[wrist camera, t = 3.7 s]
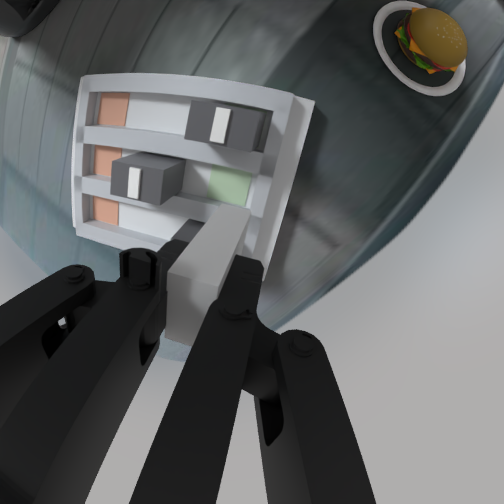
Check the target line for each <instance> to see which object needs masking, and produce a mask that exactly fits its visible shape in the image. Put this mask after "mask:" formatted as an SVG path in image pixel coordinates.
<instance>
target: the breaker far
mask: <svg viewBox="0 0 504 504" xmlns="http://www.w3.org/2000/svg"><path fill="white" fill-rule="evenodd" d="M204 225H205V222H201V221H197V220H193V219H188V220H187V221H186V222H185V223H184V225H183V226H182V227H181V228H180V229H179V230H178V231H177V232H176V233H175V234H174V235H173V237H172V238H171V240H173V239H178V240H182V241H186V242H189V243H190V242H191V241H192V240H193V238H194V237H195V236H196V234H197V233H198V232H199V231H200V229H201V228H202V227H203V226H204Z"/></svg>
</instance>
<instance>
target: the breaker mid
mask: <svg viewBox="0 0 504 504" xmlns="http://www.w3.org/2000/svg"><path fill="white" fill-rule="evenodd" d="M185 165H186V160H185V159H180V158H174V157H169V156H163V155H157V154H151V153H145V152H138V153H135V154H132V155H128V156H125V157H122V158H119V159H116V160H113V161H112V168H111V186H110V195H115V196H119V197H124V198H128V199H132V200H137V201H141V202H145V203H149V204H154V205H158V206H160V205H162V204H163V203H164V202H166V201H167V200H168V199H170V198H171V197H173V196H174V195H175V194H177V193H178V192H179V191H181V190H182V185H183V178H184V171H185Z"/></svg>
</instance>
